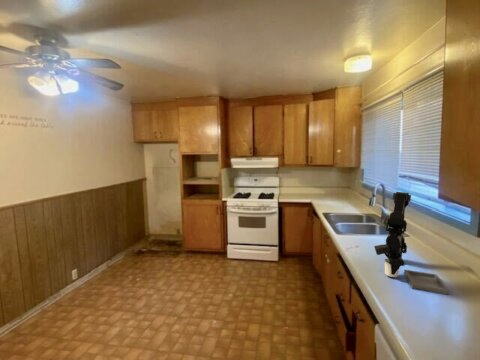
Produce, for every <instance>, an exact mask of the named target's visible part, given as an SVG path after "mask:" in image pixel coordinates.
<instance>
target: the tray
mask: <svg viewBox="0 0 480 360" xmlns="http://www.w3.org/2000/svg"><path fill="white" fill-rule="evenodd" d="M403 271H404V272H403V274H404V276H405V278H406V280H407V282H408V283H409V285H410V288H411V289H412V290H418V291H422V292H429V293H435V294H440V295H441V294H442V295H449V292H450V289H448V287H447V286H446V284H445V283H444V282H443V281H442V279H441V278H440V277H439V275H438V274H436V273H431V272H425V271H424V272H423V271H416V270H410V269H404V270H403Z"/></svg>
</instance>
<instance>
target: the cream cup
mask: <svg viewBox="0 0 480 360" xmlns="http://www.w3.org/2000/svg"><path fill="white" fill-rule="evenodd" d="M387 260H388V258H385V259H384V274H385V276H388V277H391V278H397V277H398V276H399V272H400V268H399V269H398V270H397V271H396V273H395V274H394V275H393V274H391V265H390V264H389V263H388V261H387Z"/></svg>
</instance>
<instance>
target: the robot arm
mask: <svg viewBox="0 0 480 360" xmlns="http://www.w3.org/2000/svg"><path fill="white" fill-rule="evenodd" d="M392 200H393V203H394V207H393V211H392V212H391V213H390V214H389V217H387V220H386V227H385V231H386V232H388V234H387V237H386V239H385V243H384V244H378V245H374V250H375V254H376V255H377V256H380V255H385V257H386V259H388V260H387V261H388V263H389V264H390V265H391V274H393V275H394V274H395V273H396V271H397V270H398V269H399V270H400V268H401V267H405V260H404V259H403V254H407V251H408V250H407V249H408V245H407V243H406V241H405V240H406V239H405V237H404V234H405V233H406V232H407V225H408V222H407V221H406V219H405V217H406V216H405V212H406V208H407V207H408V205H409V204H410V202H411V200H412V195H411V194H410V193H409V192H403V191H396V192H393V194H392Z"/></svg>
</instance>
